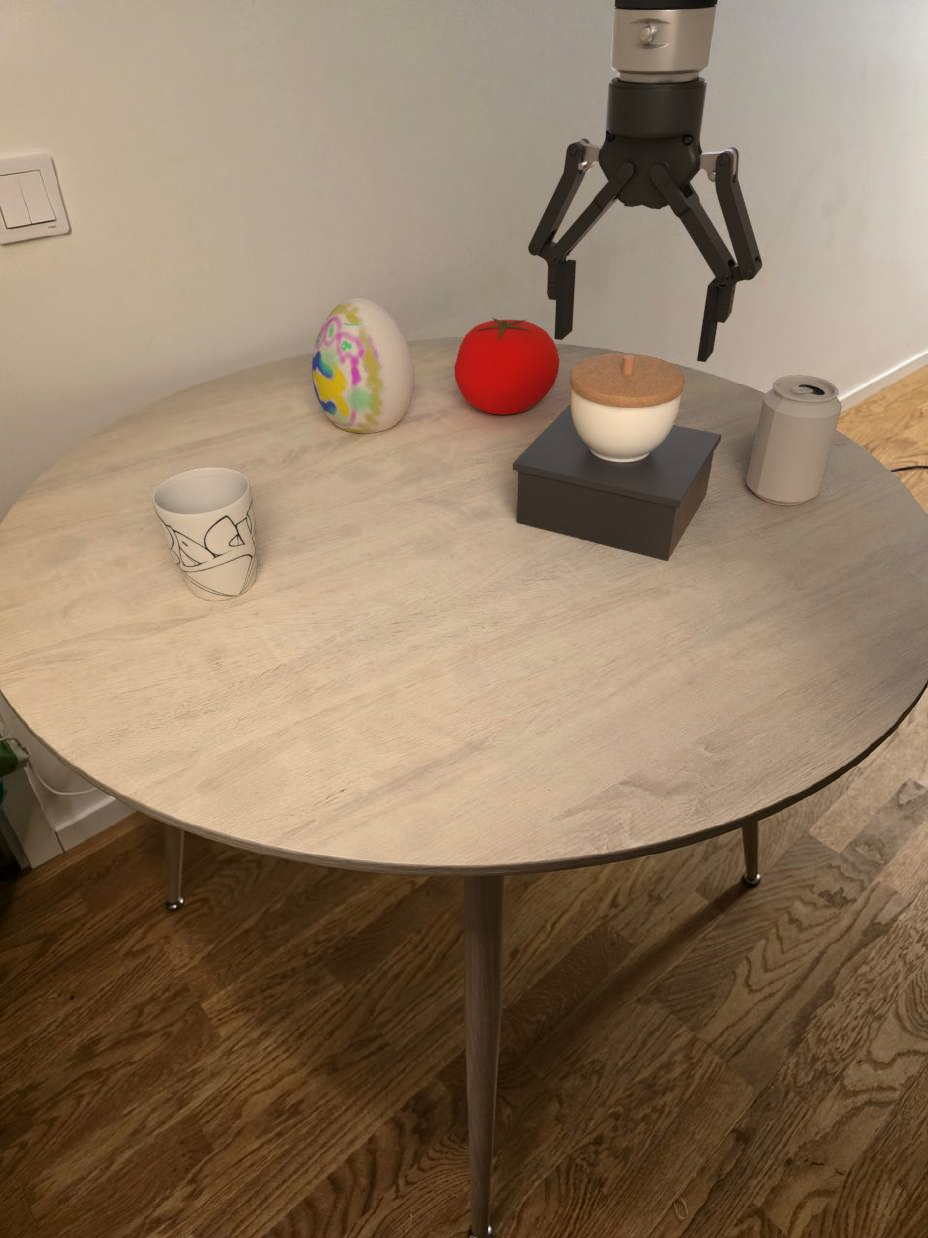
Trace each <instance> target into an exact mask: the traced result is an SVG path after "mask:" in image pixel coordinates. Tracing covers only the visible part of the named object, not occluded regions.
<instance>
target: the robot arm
mask: <svg viewBox="0 0 928 1238" xmlns="http://www.w3.org/2000/svg"><path fill="white" fill-rule="evenodd" d="M717 5H718V0H614V7H613V14H612V29H611V45H610V46H611V47H610V60H609V61H610V62H609V67H610V68H611V70H612V71H613V72H615V73H617V76H616V77H614V78H612V79H611V82H609V83H608V86H607V99H606V114H605V115H606V118H605V137H604V141H603V144H602V145H599V144H593V143H590V140H588V139H587V138H580V139H578V140H576V141H574V142H572V143H569V145H568V146H567V148H566V151H565V152H566V153H565V160H564V166H563V172H562V174H561V176H560V178H559V181H558V183H557V185H556V187H555V189H554V191H553V193H552V195H551V198H550V200H549V202H548V203H547V206H546V208H545V210H544V212H543V214H542V216H541V219H540V221H539V223H538V225H537V227H536V229H535V231H534V233H533V235H532V237H531V240H530V242H529V243H528V246H527V251H528V253H529V254H530V255H531V256H534V257H535V256H537V257H540V258H542V259H543V260H544V261H545V262H546V264H547V283H546V284H547V285H546V286H547V287H546V295H547V298H548V300H550V301H551V300H552V301H555V314H554V337H553V338H554V339H553V340H558V341H563V340H564V339H565V338H566V337H567V336H568V335H570V334H571V333H572V332H573V327H574V325H573V324H574V309H575V289H576V271H577V259H567V257H569V256H570V255H571V253H572V252H573V251H574V249H575V248H576V247H577V246H578V245H579V243H580V242H581V241H582V240H583V239H584V238H585V237H586V236H587V234H588V233H589V232H590V231H591V230H592V229H593V228H594V227H595V225H596V224H597V223H598V222H599V221H600V220H601V218H603V216H604V215H605V214H606V213H607V212H608V211H609V209H610V208H611V207H612V206H613V205H614V204H615V203H616V202H617V201H619V202H620V203H621V204H623V207H629V208H635V207H640V206H643V207H646V208H649V209H651V210H652V209H653V210H662V209H663V208H666V207H668V206H669V208H670V209H671V211H672V212H673V214H674V216H675V217H677V218H678V219H679V220H680V222H681V223H682V225H683V226H684V228H685V230H686V232H687V233H688V235H689V236H690V238H691V239H692V241H693V243H694V244H695V245H696V246H695V247H697V250H698V251H699V252H700V254H701V256H702V258H703V260H705V262H706V264H707V266H708V267H709V270H710V271H711V272H712V274H713V275H714V278H713V279H712V280H711V281H710V282H709V284H707V287H706V288H707V289H706V295H705V302H704V309H703V316H702V321H701V322H702V323H701V330H700V336H699V343H698V349H697V357H696V362H702V363H706V362H707V361H708V360H709V358H710V357H711V355H713V353H714V349H715V342H716V336H717V331H718V330H717V329H718V325H719V324H718V323H722V324H725V323H726V321H727V320H728V319H729V318H730V316H731V314H732V311H733V305H734V299H735V294H736V293H735V292H736V288H737V283H739V282H742V281H751V280H753V279H754V278H755V277H756V276H757V274H758V273H759V272H760V271H761V270H762V268H763V260H762V257H761V253H760V250H759V247H758V243H757V240H756V236H755V233H754V230H753V225H752V222H751V219H750V216H749V212H748V209H747V206H746V202H745V198H744V195H743V192H742V188H741V184H740V181H739V163H740V162H739V160H740V154H739V153H740V152H739V150H738V149H737V147H734V146H729V147H728V148H726V149H725V150H723V151H721V150H720V151H719V150H718V151H707V152H705V151H704V152H703V149H702V147H701V133H702V125H703V117H704V112H705V111H704V110H705V104H706V103H705V101H706V94H707V93H706V92H707V87H708V83H707V82H705V81H706V79H705V78H704V77H702V76H701V72H703V71H705V70H707V69H708V68H709V67H710V64H711V56H712V47H713V38H714V29H715V22H716V13H717ZM596 162H598V165H599V167H600V169H601V170H602V172H603V175H604V177H605V179H606V181H607V182H606V183H605V185H603V186H602V188H601V189H600V190H599V191H598V193H597V194H596V195H595V196H594V198H593V199H592V201H591V202H590V203H589V204H588V206H586V208H585V209H584V210H583V211H582V213H581V214H580V215H579V216H578V217H577V218H576V219H575V220H574V222H573V223H572V225H571V226H570V227H569V228H568V229H567V230H566V231H565V233H564V234H563V235H562V236H561V237H560V239H559V240H558V241H557V242H555V241H554V239H555V236H556V235H557V233H558V231H559V229H560V227H561V225H562V223H563V220H564V219H565V217H566V215H567V212H568V211H569V209H570V206H571V204H572V202H573V200H574V199H575V197H576V195H577V192H578V191H579V189H580V186H581V184H582V183H583V180H584V178H585V176H586V174H587V173H588V172H589V171H591V170H592V169H593V168H594V166H595V164H596ZM701 170H704V171H705V173H706V176H707V179H708V181H710V182H711V183H714V185H715V192H716V196H717V200H718V204H719V207H720V210H721V214H722V217H723V220H724V223H725V227H726V230H727V233H728V237H729V241H730V243H731V247H732V250H733V253H734V256H733V255H732V253H731V252H730V250H729V248H728V247H727V244H726V243H725V242H724V240H723V238H722V236H721V235H720V233H719V231H718V230H717V228H716V227H715V225H714V224H713V222H712V220H711V218H710V216H709V215H708V214H707V211H706V210H705V208H704V207H703V205H702V203H701V199H700V196H699V195H698V193H697V191H696V189H695V187H694V186H693V184H692V183H691V181H692V180H693V179H694V178H695V177H696V175H697V174H698V173H699V172H700V171H701ZM734 257H735V258H734Z"/></svg>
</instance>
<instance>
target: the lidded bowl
mask: <svg viewBox="0 0 928 1238" xmlns="http://www.w3.org/2000/svg"><path fill="white" fill-rule="evenodd" d="M685 384H686V377H685V375H684V373H683V371H682V369H680V368H679V367H678V366H677V365H675V364H673V363H672V362H670V361H667V360H665V359H663V358H659V357H655V356H651V355H646V354H640V353H630V352H629V353H626V352H623V353H621V352H620V353H619V352H616V353H604V354H599V355H595V356H591V357H588V358H585V359H583V360H581V361H579V362H578V363H576V364H575V365H574V366H573V367H572V369H571V371H570V378H569V385H570V396H569V397H570V399H569V400H570V403H569V405H571V414H572V419H573V423H574V426H575V429H576V431H577V433H578V435H579V436H580V438H581V439H582V441H583V442H584V443H585V444H586V445H587V446H588V447H589V449H590V451H591V452H592V453H593V454H594V455H595V456H597V457H599V458H601V459H604V460H607V461H612V462H633V461H638V460H641V459H643V458H645V457H647V456H648V455H649V453H650V452H651V451H652V450H654V449H655V448H657V447H658V446H659V445H660V444H661V443H662V442H663V441H664V440H665V439H666V438H667V436H668V434H669V433H670V431H671V430H672V428H673V425H675V422H676V420H677V417H678V414H679V410H680V405H681V401H682V393H683V392H684V388H685Z"/></svg>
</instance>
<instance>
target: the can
mask: <svg viewBox="0 0 928 1238" xmlns="http://www.w3.org/2000/svg"><path fill="white" fill-rule="evenodd" d="M839 392H840V391H839V388H838V387H837V386H836V385H835V383H833V382H831V381H828V380H826V379H823V378H820V377H816V376H812V375H802V374H797V375H796V374H795V375H787V376H786V375H785V376H781V377H780V378H778V379H775V380H774V382H773V383H772V388H771V389H769V390H768V391H767V392H766V393H765V394H764V395H763V397H762V403H761V408H760V412H759V417H758V421H757V426H756V431H755V437H754V442H753V446H752V451H751V455H750V460H749V465H748V469H747V476H746V484H747V486H748V488H749V490H751V491H752V492H753V494H754V495H755V496H756V497H758V498H759V499H760V500H762V501H764V502H766V503H769V504H773V505H777V506H784V507H785V506H797V505H802V504H804V503H805V502H808V501H810V500H811V499H814V498H816V497H817V495H818V494H819V492H820V490H821V486H822V483H823V479H824V475H825V471H826V467H827V464H828V460H829V456H830V453H831V450H832V446H833V442H834V438H835V434H836V430H837V428H838V423H839V420H840V415H841V412H842V408H843V406H842V402H841V401H840V399H839V398H838V396H839V394H840V393H839Z"/></svg>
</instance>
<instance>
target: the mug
mask: <svg viewBox="0 0 928 1238" xmlns="http://www.w3.org/2000/svg"><path fill="white" fill-rule="evenodd" d="M151 497H152V498H151V500H152V505H153V506H152V507H153V509H154V512H155V515H156V518H157V520H158V524H159V526H160V528H161V531H162V534H163V537H164V540H165V543H166V545H167V548H168V550H169V552H170V554H171V556H172V558H173V560H174V562H175V565H176V566H177V568H178V570H179V572H180V574H181V576H182V578H183V580H184V582H185V584H186V586H187V587H188V589H189V590H190V592H191V593H192V594H193V595H194V596H195V597H197V598H198V599H201V600H204V601H210V602H222V601H227V600H232V599H234V598H237V597H239V596H241V595H243V594H245V593H246V592H248V591H249V590H250V589H251V588H252V587H253V585H254V584H255V581H256V578H257V570H258V569H257V565H258V564H257V563H258V561H257V559H258V558H257V557H258V556H257V553H258V551H257V548H258V546H257V545H258V543H257V542H258V539H257V537H258V535H257V524H256V523H257V522H256V515H255V507H254V499H253V497H254V496H253V491H252V485H251V483H250V481H249V478H248V477H247V476H246V475H245V474H243V473H242V472H240V471H238V470H235V469H232V468H229V467H223V466H222V467H221V466H207V467H206V466H205V467H199V468H198V467H197V468H193V469H189V470H185V471H182V472H179V473H176V474H173V475H172V476H170V477H167V478H166V479H164V480H163V481H162V482H161V483H159V484H158V485H157V486H156V488H155V489H154V491H153V493H152V496H151Z"/></svg>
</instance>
